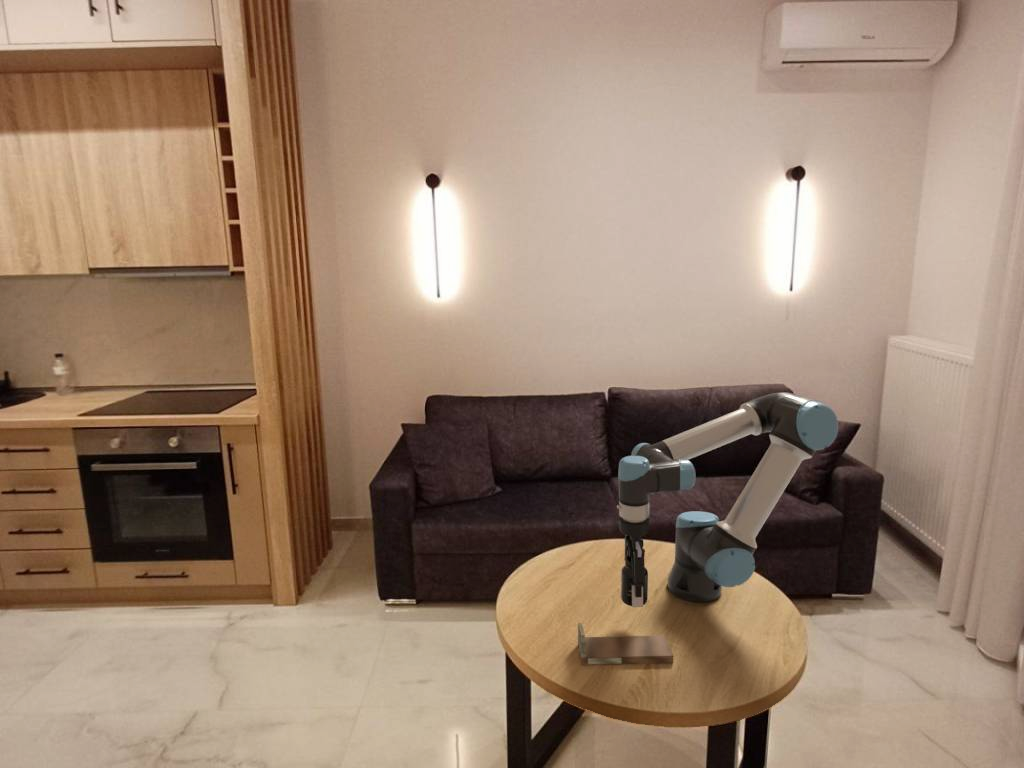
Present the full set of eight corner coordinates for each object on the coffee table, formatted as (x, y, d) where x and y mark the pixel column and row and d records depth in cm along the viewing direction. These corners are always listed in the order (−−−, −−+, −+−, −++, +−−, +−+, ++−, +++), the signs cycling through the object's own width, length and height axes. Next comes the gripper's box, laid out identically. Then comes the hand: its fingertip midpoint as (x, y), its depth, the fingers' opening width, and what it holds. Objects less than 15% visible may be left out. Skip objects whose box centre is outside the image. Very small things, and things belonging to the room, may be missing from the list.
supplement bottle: (632, 610, 157) (631, 567, 154) (616, 598, 162) (615, 556, 160) (653, 602, 160) (653, 560, 157) (636, 590, 166) (636, 549, 163)
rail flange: (664, 642, 155) (665, 620, 154) (673, 663, 147) (674, 640, 146) (577, 643, 155) (578, 621, 154) (581, 665, 147) (581, 642, 146)
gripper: (612, 502, 166) (614, 579, 171) (626, 534, 147) (627, 621, 151) (640, 500, 166) (640, 578, 171) (657, 533, 147) (657, 619, 151)
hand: (634, 598), depth 161 cm, fingers closed on supplement bottle, 7 cm apart
